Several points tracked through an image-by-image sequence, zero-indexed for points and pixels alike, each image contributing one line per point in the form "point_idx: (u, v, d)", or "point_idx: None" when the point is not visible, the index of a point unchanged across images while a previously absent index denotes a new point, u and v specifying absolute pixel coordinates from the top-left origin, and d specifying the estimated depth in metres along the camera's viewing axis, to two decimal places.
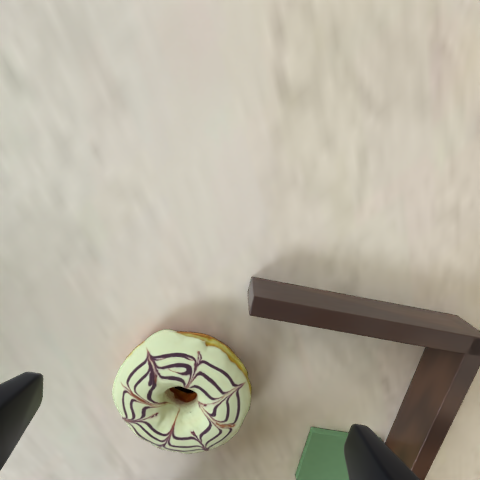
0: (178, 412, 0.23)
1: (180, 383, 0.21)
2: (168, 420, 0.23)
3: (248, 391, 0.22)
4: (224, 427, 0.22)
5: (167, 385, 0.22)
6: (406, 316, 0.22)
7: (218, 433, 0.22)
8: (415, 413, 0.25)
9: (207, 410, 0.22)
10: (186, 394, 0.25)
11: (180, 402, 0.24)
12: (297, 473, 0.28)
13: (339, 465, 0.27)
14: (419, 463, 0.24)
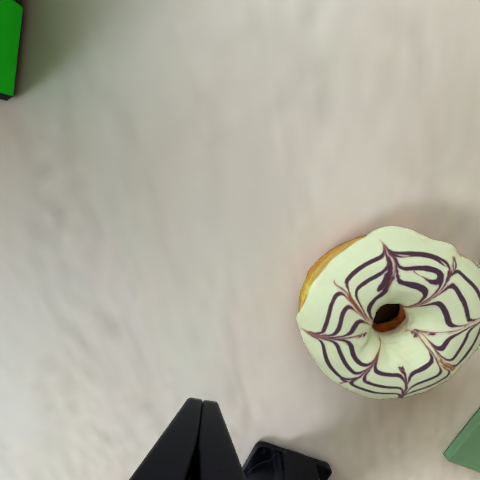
0: (380, 340, 0.17)
1: (419, 295, 0.16)
2: (372, 346, 0.17)
3: None
4: (446, 368, 0.17)
5: (396, 296, 0.16)
6: None
7: (435, 375, 0.17)
8: None
9: (433, 341, 0.16)
10: (374, 323, 0.19)
11: (375, 330, 0.18)
12: (450, 452, 0.23)
13: None
14: None
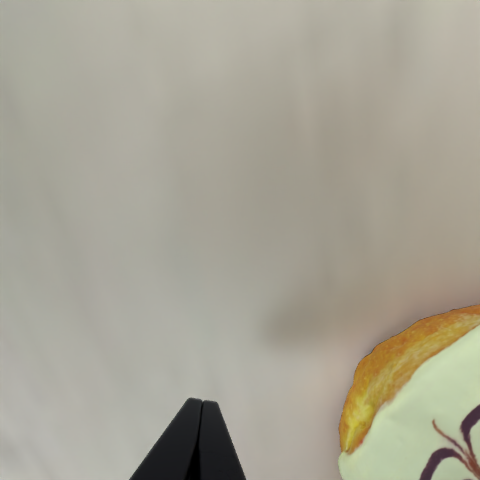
0: None
1: None
2: None
3: None
4: None
5: None
6: None
7: None
8: None
9: None
10: None
11: None
12: None
13: None
14: None
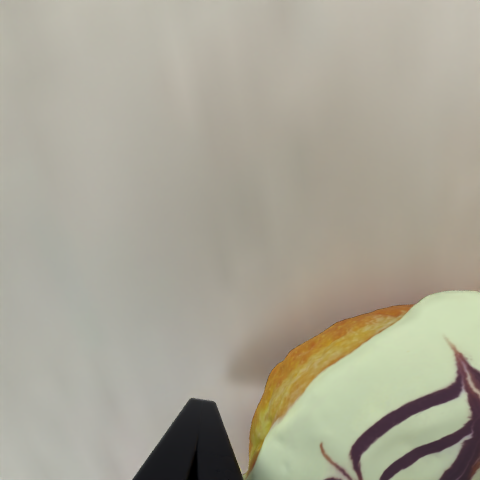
0: None
1: None
2: None
3: None
4: None
5: None
6: None
7: None
8: None
9: None
10: None
11: None
12: None
13: None
14: None
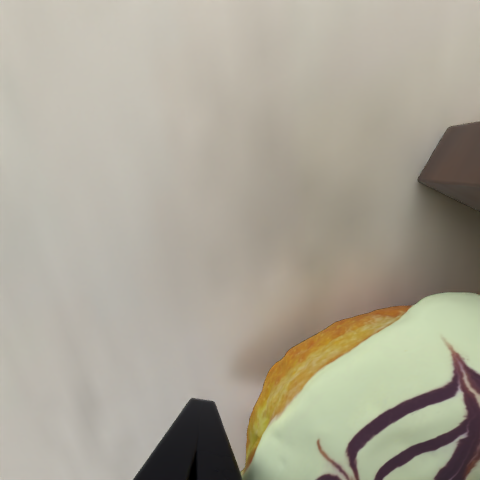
0: None
1: None
2: None
3: None
4: None
5: None
6: None
7: None
8: None
9: None
10: None
11: None
12: None
13: None
14: None
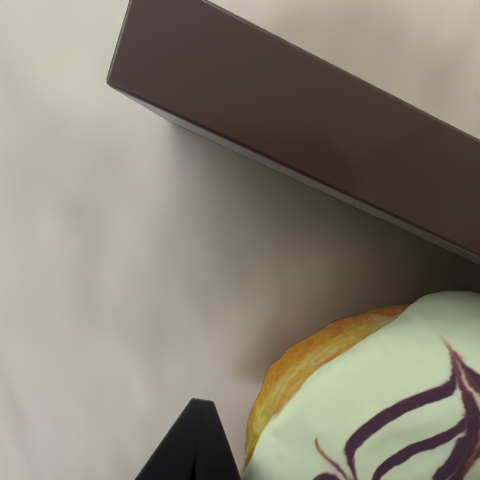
0: None
1: None
2: None
3: None
4: None
5: None
6: None
7: None
8: None
9: None
10: None
11: None
12: None
13: None
14: None
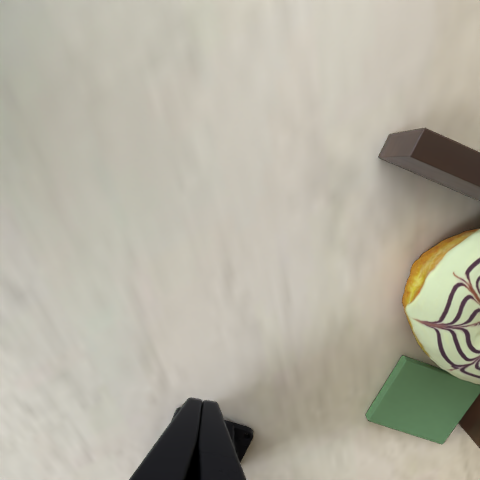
0: None
1: None
2: None
3: None
4: None
5: None
6: None
7: None
8: None
9: None
10: None
11: None
12: (370, 412, 0.23)
13: (424, 408, 0.22)
14: None
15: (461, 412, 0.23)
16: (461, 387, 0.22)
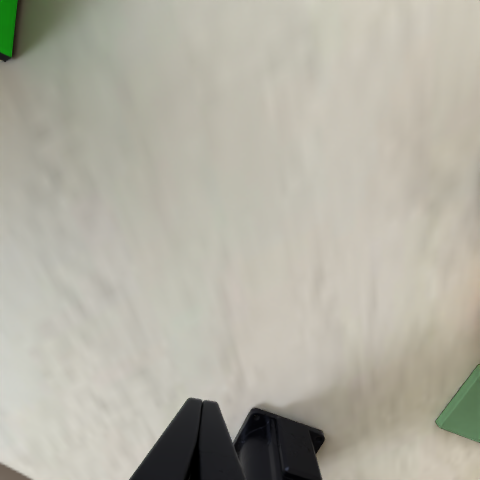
0: None
1: None
2: None
3: None
4: None
5: None
6: None
7: None
8: None
9: None
10: None
11: None
12: (441, 419, 0.23)
13: None
14: None
15: None
16: None
